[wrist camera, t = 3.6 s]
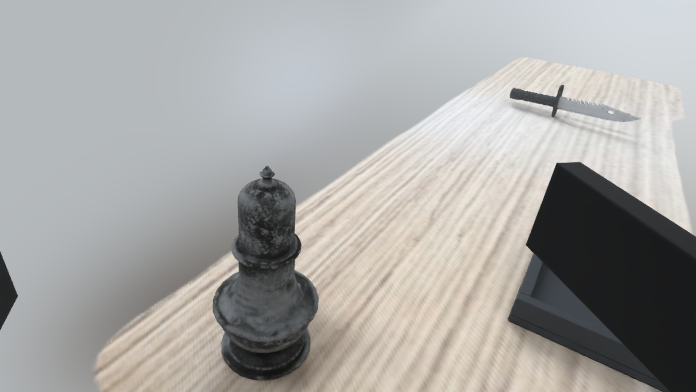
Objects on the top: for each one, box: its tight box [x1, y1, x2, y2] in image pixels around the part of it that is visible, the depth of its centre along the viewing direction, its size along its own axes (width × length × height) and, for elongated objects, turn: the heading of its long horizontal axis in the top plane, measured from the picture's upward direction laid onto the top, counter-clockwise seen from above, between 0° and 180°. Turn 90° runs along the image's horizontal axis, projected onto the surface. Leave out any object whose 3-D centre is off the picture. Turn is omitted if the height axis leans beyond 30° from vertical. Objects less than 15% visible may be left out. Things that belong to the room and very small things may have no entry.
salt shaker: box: [213, 166, 319, 380], centre depth 23 cm, size 6×6×12 cm
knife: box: [510, 85, 641, 122], centre depth 68 cm, size 19×2×5 cm, turn 52°
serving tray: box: [508, 254, 670, 392], centre depth 32 cm, size 12×11×2 cm
